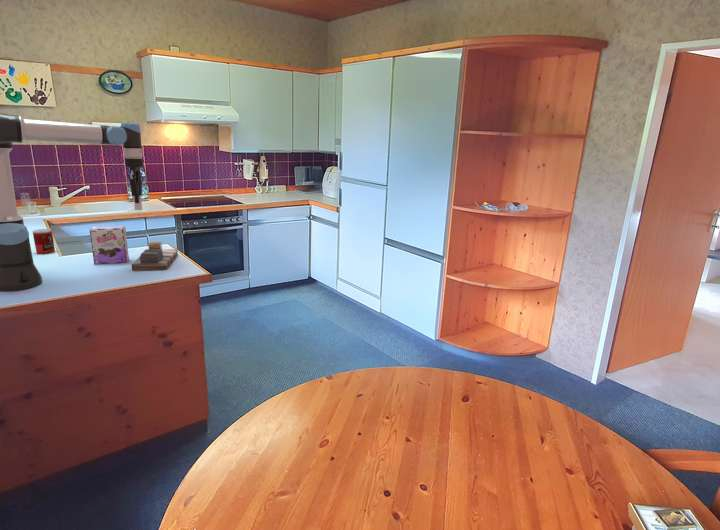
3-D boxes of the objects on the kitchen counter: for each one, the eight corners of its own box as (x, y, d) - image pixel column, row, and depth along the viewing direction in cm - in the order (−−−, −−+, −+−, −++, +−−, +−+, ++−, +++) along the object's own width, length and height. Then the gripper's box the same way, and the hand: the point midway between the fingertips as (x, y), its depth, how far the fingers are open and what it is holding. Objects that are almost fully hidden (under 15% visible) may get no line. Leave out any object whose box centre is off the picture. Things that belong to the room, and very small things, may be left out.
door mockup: (166, 270, 201) (164, 255, 199) (132, 271, 198) (130, 255, 196) (177, 255, 225) (176, 241, 223) (147, 255, 223) (146, 242, 221)
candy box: (93, 264, 206) (88, 229, 202) (97, 261, 212) (92, 226, 207) (127, 263, 210) (122, 228, 206) (129, 259, 215) (125, 225, 211)
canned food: (46, 254, 221) (42, 232, 218) (32, 253, 222) (28, 231, 219) (59, 251, 228) (55, 229, 225) (45, 250, 229) (41, 228, 226)
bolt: (157, 259, 204) (156, 246, 203) (145, 259, 204) (144, 246, 202) (162, 254, 214) (161, 241, 212) (151, 254, 213) (150, 241, 211)
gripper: (138, 158, 200) (143, 212, 207) (146, 157, 213) (151, 207, 219) (119, 158, 199) (125, 211, 205) (129, 157, 212) (134, 207, 218)
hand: (138, 209), depth 212 cm, fingers closed
